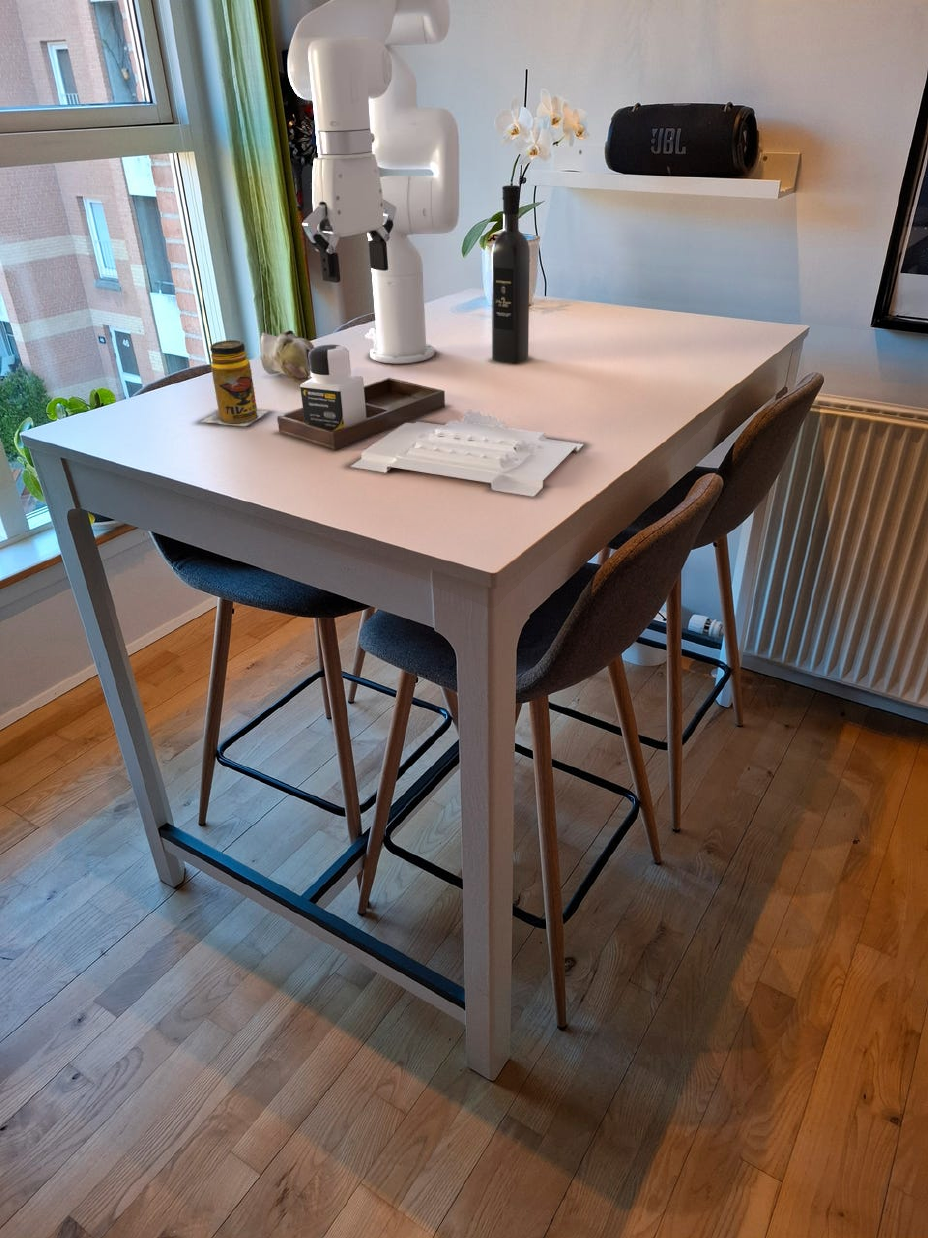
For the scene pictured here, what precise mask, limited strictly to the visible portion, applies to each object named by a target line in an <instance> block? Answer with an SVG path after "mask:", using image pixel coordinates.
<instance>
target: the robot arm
mask: <svg viewBox="0 0 928 1238" xmlns="http://www.w3.org/2000/svg"><path fill="white" fill-rule="evenodd" d="M450 23H451V10H450V3H449V0H328V1H327V2H325V3H324V4H322V5H320V6H318V7H316V8H314V9H313V10H312V11H310V12H308V13H307V14H306V15H304V16H303V17H302V18H301V19H300V20H299V21H298V23H297V25H296V27H295V30H294V32H293V35H292V37H291V41H290V44H289V49H288V52H287V53H288V54H287V75H288V79H289V83H290V86H291V87H292V89H293V91H294V93H295V94H296V95H297V97H300V98H301V99H303V100H305V101H311V102H312V105H313V116H314V125H315V126H314V127H315V136H316V146H317V153H318V154H317V156H318V157H314V159H313V166H312V183H311V185H312V186H311V189H312V212H311V213H310V214H309V215H308V216H307V217H306V218H305V219H304V220H303V221H302V222H301V226H302V228H303V230H304V232H305V234H306V236H307V238H308V241H309V243H310V244H311V245H312V246H313V247H314V249H315V251H316V252H317V253H319V258H320V259H319V260H320V267H321V275H322V281H324V282H329V283H335V284H337V283H340V282H341V269H340V260H339V253H338V252H335V250H336V248H337V245H338V243H339V241H340V239H341V238H343V237H344V238H345V237H349V236H354V235H360V234H364V233H367V238H368V251H369V262H370V264H369V265H370V268H371V274H372V275H371V276H372V289H373V290H372V291H373V303H374V304H373V305H374V315H375V327H371V328H370V329H369V332H367V333H366V334H365V339H366V340H368V341H373V347H372V348H371V349H370V350H369V355H370V358H371V359H372V360H374V361H376V362H380V363H385V364H397V365H398V364H413V363H418V362H424V361H427V360H429V359H431V358H432V357H434V355H435V347H434V346H433V345H431V344H429V343H427V335H426V334H427V332H426V311H425V292H424V291H425V290H424V267H423V260H422V257H421V253H420V252H419V250H418V249H417V247H416V246H415V245H414V244H413V243H414V242H412V241H411V240H410V238H409V237H408V236H411V235H412V236H413V235H438V234H439V235H440V234H441V235H443V234H448V233H451V232H453V231H454V230H455V229H456V228H457V225H458V223H459V218H460V217H459V216H460V138H459V137H460V136H459V129H458V124H457V121H456V118H455V116H454V115H453V114H452V112H451V111H449V110H447V109H445V108H441V107H423V108H422V107H421V108H419V107H417V105H418V104H417V79H416V75H415V74H414V72H413V71H412V69H411V68H410V66H409V64H408V63H407V61H406V60H405V59H404V58H403V57H402V56H401V55H400V54H399V53H398V52H397V50H396V49H395V48H394V47H393V46H417V45H418V46H420V45H421V46H422V45H435V44H439V43H441V42H442V41H444V40H445V38H446V37H447V35H448V33H449V29H450ZM379 168H382V169H385V170H398V171H399V170H404V171H405V170H430V171H431V172H432V173H433V175H386V176H380V175H381V174H380V171H379Z"/></svg>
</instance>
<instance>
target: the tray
mask: <svg viewBox="0 0 928 1238" xmlns="http://www.w3.org/2000/svg"><path fill="white" fill-rule="evenodd" d="M462 416H463V417H462V419H463V420H462V419H460V421H459V420H454V419H453V420H450V421H448V422H446V423H445V424H439V423H432V422H431V423H430V422H425V421H415V422H414V423H411V422H405V423H403V424H401V425H399V426H398V427H397V428H395V429H394V430H392V431H391V432H389V433H388V434H387V435H385V436H383V437H382V438H380V439H379V440H377V441H376V442H374V443H372V445H369V447H367V448H366V449H363V451H362V452H361V458H360V459H359V460H357V461H356V462H355V463H353V464H352V465H349V466H350V468H355V469H361V470H367V471H374V472H380V473H387V472H388V471H390V470H392V469H393V468H394V469H395V468H396V469H402V470H407V471H412V472H413V471H414V472H421V473H424V474H425V473H427V474H433V475H440V476H445V477H450V478H457V479H463V480H468V481H469V480H470V481H477V482H482V483H489V484H490V486H491V487H490V488H491V490H492V491H496V492H501V493H508V494H515V495H521V496H527V497H535V496H536V495H537V494H538V493H539V492H540V491H541V490H542V489H543V487H544V480H545V479H547V477H548V476H550V474H551V473H552V472H553V471H554V470H555V469H556V468H557V467H558V466H559V465H560V464H561V463H562V462H563V461H564V460H565V459H566V458H567V456H569V454H571V452H578V451H579V450H580V449H581V448H582V447H583V446H584V444H583V443H578V442H571V441H562V440H557V439H556V440H555V439H548V438H547V433H546V432H542V431H533V430H528V429H527V430H526V429H519V428H512V427H505V426H506V424H505V421H504V420H498V418H496V417H495V416H493V415H490V414H486V413H481V412H480V411H475V412H474V411H472V410H468V411H467V412H466V414H465V415H462Z"/></svg>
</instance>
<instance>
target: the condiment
mask: <svg viewBox="0 0 928 1238" xmlns="http://www.w3.org/2000/svg"><path fill="white" fill-rule="evenodd" d="M209 351H210V352H211V355H210V357H211V363H210V369H211V375H212V381H213V386H214V393H215V398H216V404H217V407H218V408H217V409H218V410H217V411H216V412H215V413H213V414H211V415H210V416H207V417H206V418H205V419H203V420H201V421H200V423H207V424H219V425H224V426H233V427H235V426H236V427H247V426H249V425H251V424H253V423H254V422H256V421H257V420H259V419H260V418H262V417H263V416H264V415H265V414H266V413H268V412H269V411H268V410H258V407H257V406H258V405H257V401H256V400H257V399H256V393H255V387H254V382H253V376H252V375H253V373H252V368H251V367H252V366H251V362H250V360H249V359H248V358H247V351H246V346H245V344H244V342H242V341H240V340H233V339H230V340H229V339H228V340H220V341H217V342H214V343H212V344H211V345H210V350H209Z"/></svg>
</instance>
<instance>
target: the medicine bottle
mask: <svg viewBox="0 0 928 1238" xmlns="http://www.w3.org/2000/svg"><path fill="white" fill-rule="evenodd" d="M350 357H351V356H350V350H349V349H348V348H347V347H346V346H342V345H340V344H323V345H318V346H314V349H312V350H310V352H309V363H310V371H311V375H310V377H311V378H309V379H308V380H306V381H303V382H301V384H300V385H299V387H300V388H299V389H300V397H301V405H302V408H303V414H304V422H305V423H307V424H311V425H314V426H317V427H321V428H324V429H327V430H331V431H336V430H338V429H341V428H343V427H346V426H349V425H351V424H354V423H357V422H359V421H362V420H365V419H366V407H365V396H364V386H365V385H364V384H365V383H364V377H363V376H362V375H356V374H352V370H351V360H350Z"/></svg>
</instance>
